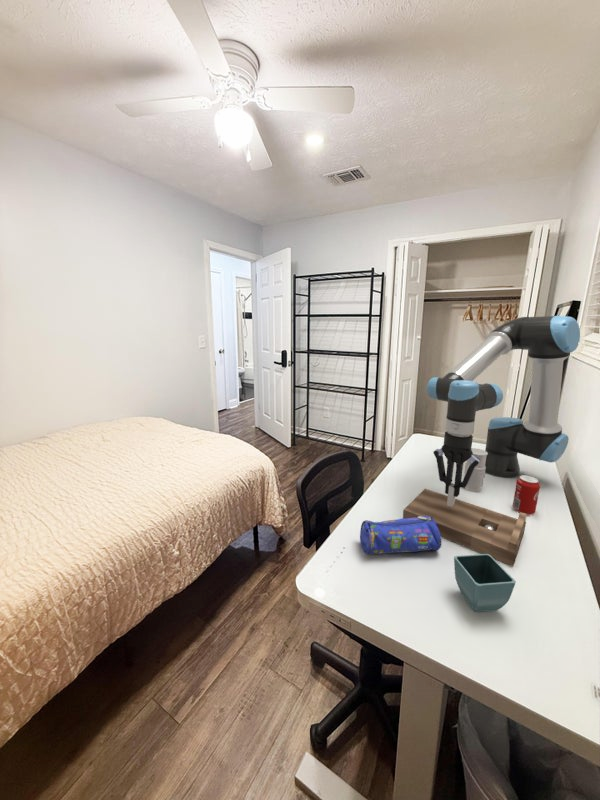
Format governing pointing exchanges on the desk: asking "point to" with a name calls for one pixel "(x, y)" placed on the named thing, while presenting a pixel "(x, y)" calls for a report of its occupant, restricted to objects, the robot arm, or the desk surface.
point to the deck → (471, 525)
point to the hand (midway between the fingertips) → (450, 504)
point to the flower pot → (483, 582)
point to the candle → (476, 471)
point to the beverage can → (526, 495)
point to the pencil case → (400, 535)
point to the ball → (489, 527)
